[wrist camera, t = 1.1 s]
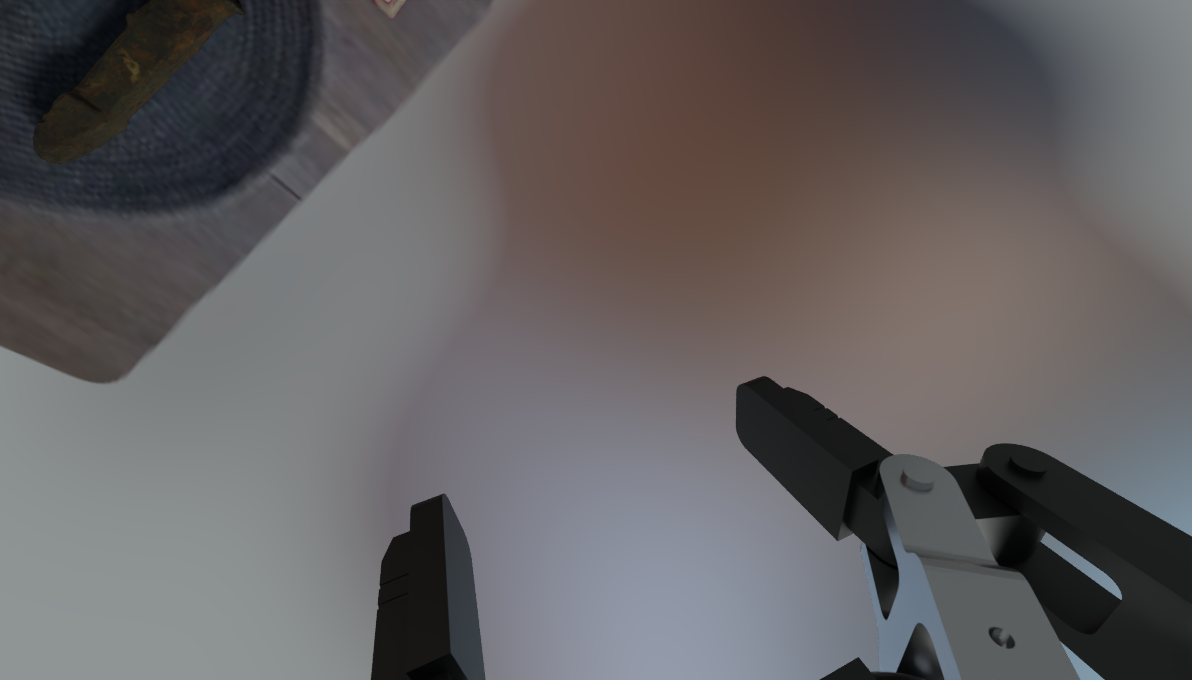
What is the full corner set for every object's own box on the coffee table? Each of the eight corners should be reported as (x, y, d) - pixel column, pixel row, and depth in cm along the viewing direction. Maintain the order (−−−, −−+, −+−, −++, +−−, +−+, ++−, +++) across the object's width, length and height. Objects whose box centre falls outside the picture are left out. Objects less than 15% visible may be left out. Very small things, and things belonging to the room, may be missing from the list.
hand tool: (199, -41, 33) (169, -63, 29) (252, 13, 35) (231, 0, 31) (25, 130, 33) (-27, 131, 30) (88, 172, 36) (47, 179, 32)
